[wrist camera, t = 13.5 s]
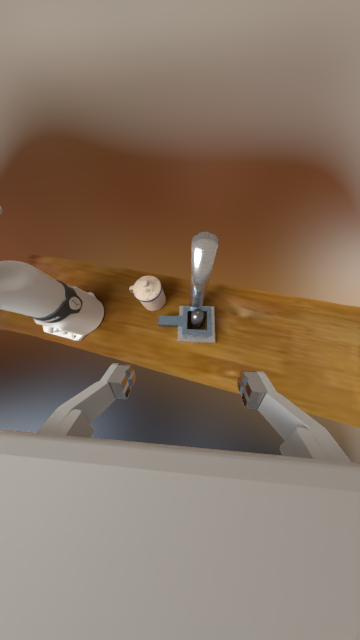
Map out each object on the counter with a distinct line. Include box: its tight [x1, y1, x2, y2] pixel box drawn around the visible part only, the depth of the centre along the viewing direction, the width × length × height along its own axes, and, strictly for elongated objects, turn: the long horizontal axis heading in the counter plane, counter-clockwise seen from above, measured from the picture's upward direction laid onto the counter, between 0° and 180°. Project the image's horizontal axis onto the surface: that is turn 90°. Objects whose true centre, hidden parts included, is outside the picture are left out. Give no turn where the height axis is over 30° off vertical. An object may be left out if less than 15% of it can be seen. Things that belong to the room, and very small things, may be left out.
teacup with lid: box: [129, 276, 166, 311], centre depth 42 cm, size 12×9×12 cm
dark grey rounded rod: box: [191, 308, 204, 329], centre depth 39 cm, size 3×3×10 cm
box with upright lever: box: [158, 232, 218, 343], centre depth 32 cm, size 18×15×26 cm
